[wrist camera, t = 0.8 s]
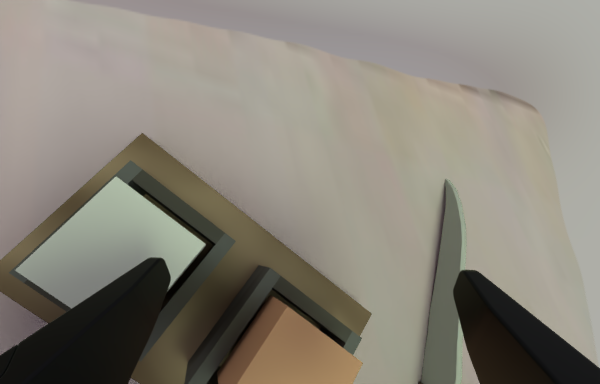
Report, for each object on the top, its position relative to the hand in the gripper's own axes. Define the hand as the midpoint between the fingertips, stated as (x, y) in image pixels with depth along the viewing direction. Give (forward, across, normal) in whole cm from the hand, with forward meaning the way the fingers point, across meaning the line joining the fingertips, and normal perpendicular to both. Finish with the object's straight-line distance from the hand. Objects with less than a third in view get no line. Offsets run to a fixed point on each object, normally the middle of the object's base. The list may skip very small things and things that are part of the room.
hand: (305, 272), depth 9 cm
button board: (+7, +8, +11) cm, 15 cm away
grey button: (+5, +10, +4) cm, 12 cm away
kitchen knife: (+11, -10, +18) cm, 24 cm away
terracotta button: (+3, +2, +11) cm, 11 cm away
